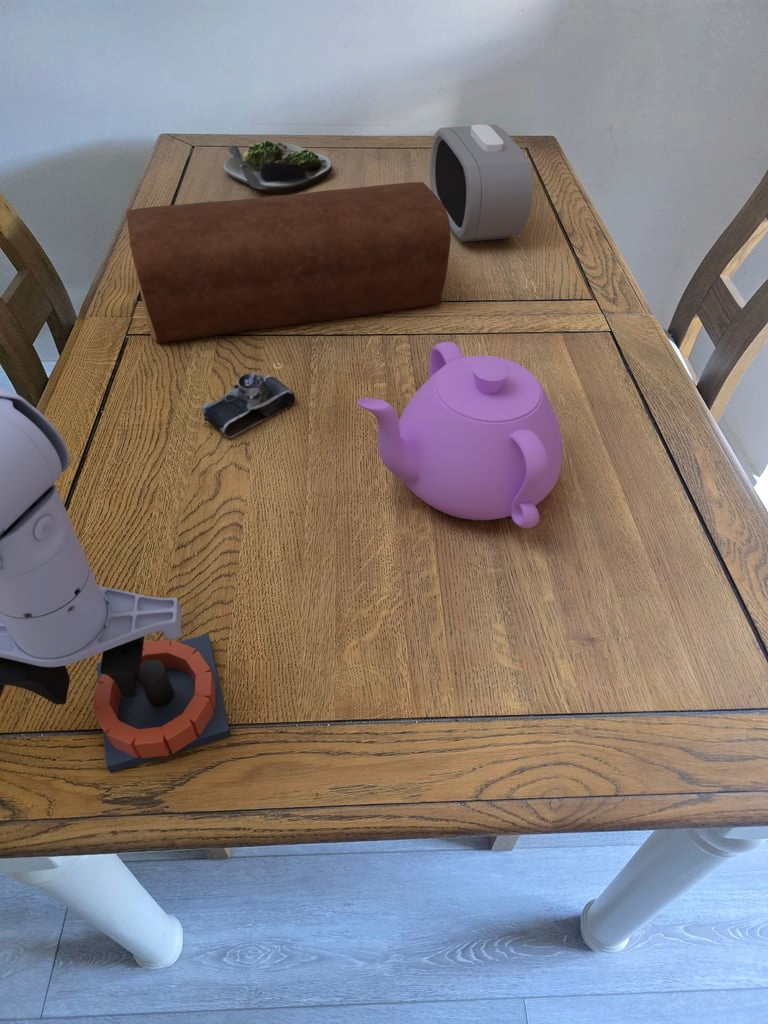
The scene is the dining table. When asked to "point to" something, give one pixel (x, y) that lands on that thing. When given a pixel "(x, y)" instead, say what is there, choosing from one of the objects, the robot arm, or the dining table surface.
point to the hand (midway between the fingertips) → (97, 688)
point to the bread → (288, 259)
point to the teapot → (474, 438)
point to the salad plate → (277, 167)
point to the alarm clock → (481, 181)
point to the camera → (248, 404)
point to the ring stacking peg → (166, 704)
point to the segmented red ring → (173, 732)
